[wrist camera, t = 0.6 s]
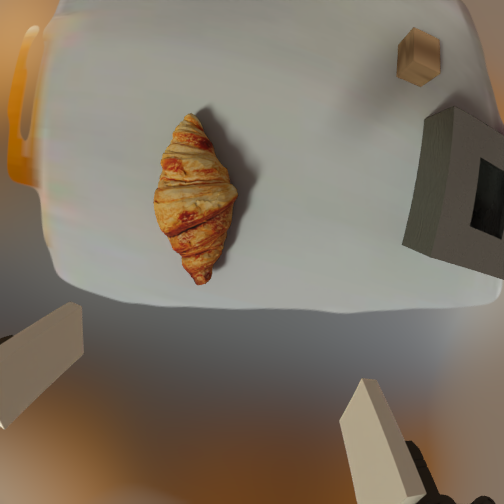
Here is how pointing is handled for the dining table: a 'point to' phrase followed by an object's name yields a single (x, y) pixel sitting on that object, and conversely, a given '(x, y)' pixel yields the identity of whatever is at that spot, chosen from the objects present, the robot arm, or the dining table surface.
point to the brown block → (418, 57)
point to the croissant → (194, 199)
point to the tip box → (459, 194)
